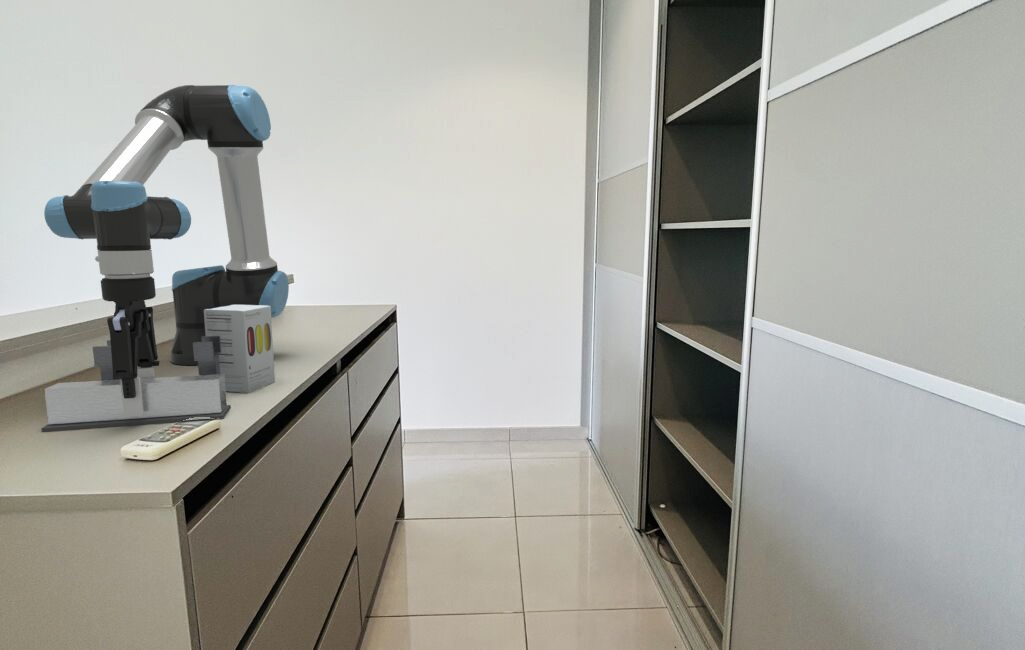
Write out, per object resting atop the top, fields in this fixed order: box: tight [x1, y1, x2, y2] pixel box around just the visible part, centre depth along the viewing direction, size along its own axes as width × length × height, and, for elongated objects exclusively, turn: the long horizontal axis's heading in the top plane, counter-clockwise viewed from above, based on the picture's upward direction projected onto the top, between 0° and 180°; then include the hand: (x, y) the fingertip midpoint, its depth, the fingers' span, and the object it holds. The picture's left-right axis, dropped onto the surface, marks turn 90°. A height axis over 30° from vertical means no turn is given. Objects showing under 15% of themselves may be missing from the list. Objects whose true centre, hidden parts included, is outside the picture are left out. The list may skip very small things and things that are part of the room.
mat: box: [41, 404, 232, 433], centre depth 101 cm, size 6×27×1 cm, turn 105°
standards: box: [92, 336, 221, 381], centre depth 109 cm, size 7×20×12 cm, turn 105°
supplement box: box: [204, 305, 276, 394], centre depth 121 cm, size 10×9×17 cm
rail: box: [44, 374, 228, 425], centre depth 101 cm, size 4×26×6 cm, turn 105°
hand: (141, 409), depth 101 cm, fingers open, 6 cm apart
